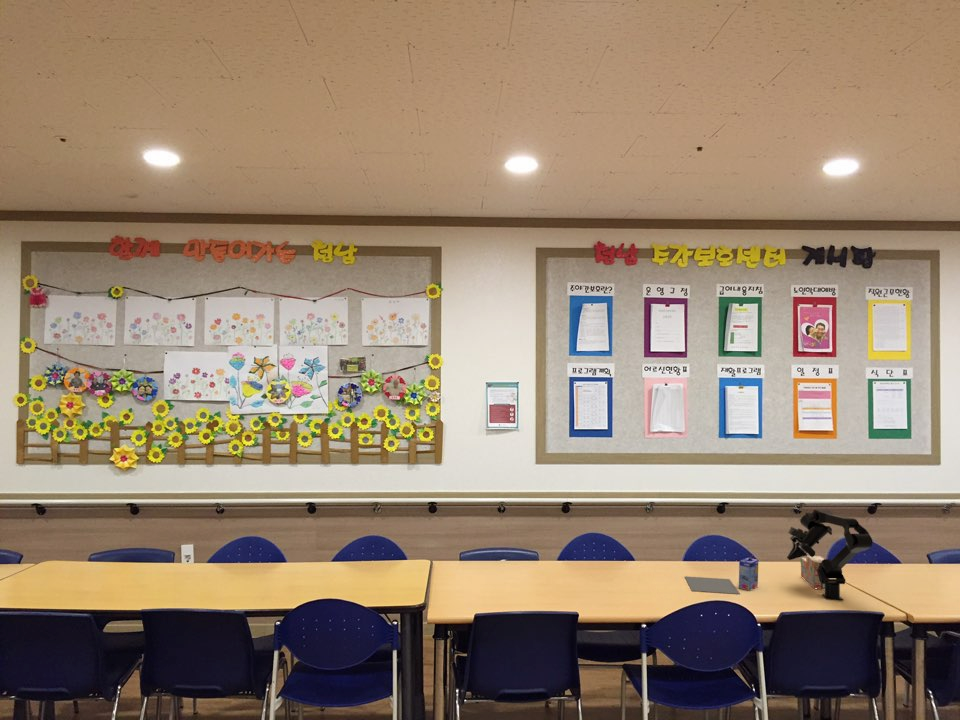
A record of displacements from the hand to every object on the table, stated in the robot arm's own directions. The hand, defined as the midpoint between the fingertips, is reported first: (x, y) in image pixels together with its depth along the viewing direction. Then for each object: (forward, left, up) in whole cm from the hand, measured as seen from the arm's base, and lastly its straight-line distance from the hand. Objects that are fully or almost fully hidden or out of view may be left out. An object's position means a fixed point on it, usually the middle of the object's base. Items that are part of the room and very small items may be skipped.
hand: (788, 558), depth 295 cm
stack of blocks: (+15, -15, -14) cm, 26 cm away
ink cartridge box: (0, +17, -14) cm, 22 cm away
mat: (0, +33, -14) cm, 35 cm away
